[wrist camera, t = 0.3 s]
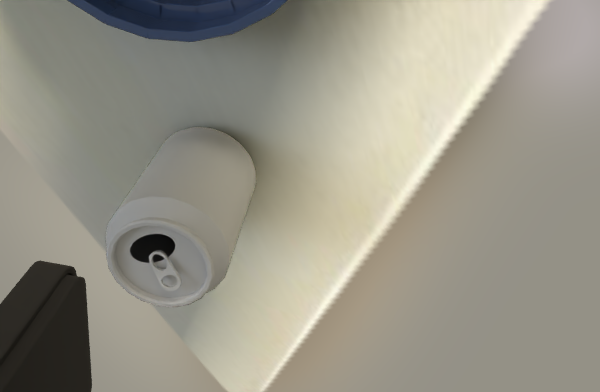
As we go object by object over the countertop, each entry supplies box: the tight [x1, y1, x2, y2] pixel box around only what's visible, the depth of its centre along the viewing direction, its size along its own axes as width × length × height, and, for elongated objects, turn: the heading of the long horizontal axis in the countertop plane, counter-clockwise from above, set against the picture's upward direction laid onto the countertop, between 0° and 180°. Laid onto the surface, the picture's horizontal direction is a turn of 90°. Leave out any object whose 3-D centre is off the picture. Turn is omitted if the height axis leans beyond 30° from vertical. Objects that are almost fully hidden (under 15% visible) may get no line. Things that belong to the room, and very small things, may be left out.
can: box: [105, 127, 256, 307], centre depth 38 cm, size 8×8×12 cm
